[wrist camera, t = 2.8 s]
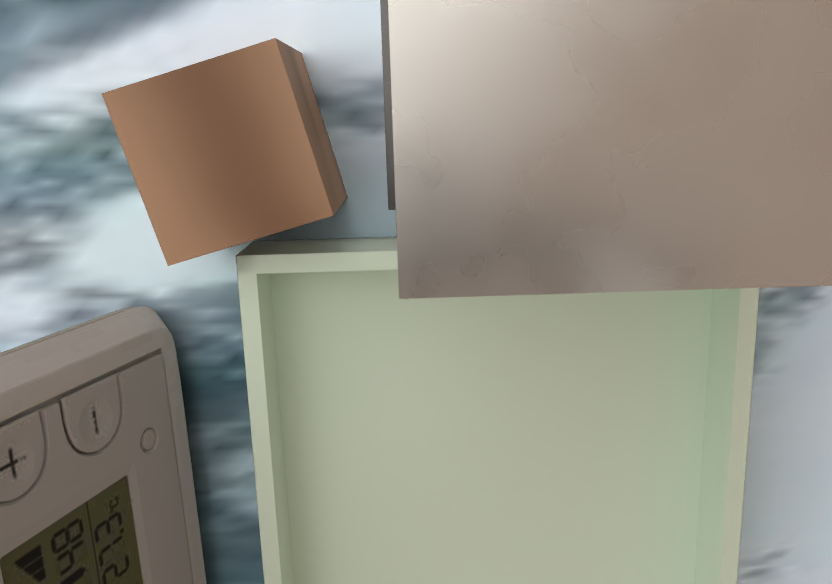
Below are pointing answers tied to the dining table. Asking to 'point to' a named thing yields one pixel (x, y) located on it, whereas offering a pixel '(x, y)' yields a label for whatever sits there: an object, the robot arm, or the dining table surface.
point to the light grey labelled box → (608, 145)
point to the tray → (490, 426)
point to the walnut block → (228, 150)
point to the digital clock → (97, 458)
